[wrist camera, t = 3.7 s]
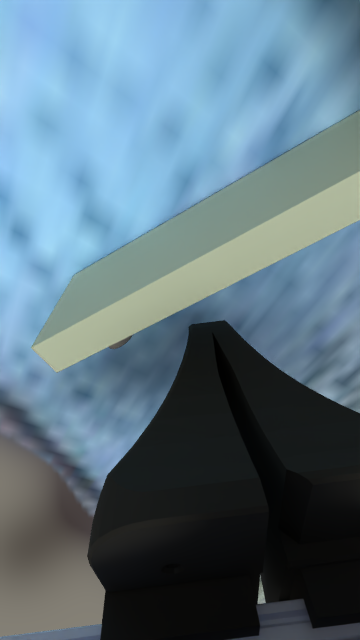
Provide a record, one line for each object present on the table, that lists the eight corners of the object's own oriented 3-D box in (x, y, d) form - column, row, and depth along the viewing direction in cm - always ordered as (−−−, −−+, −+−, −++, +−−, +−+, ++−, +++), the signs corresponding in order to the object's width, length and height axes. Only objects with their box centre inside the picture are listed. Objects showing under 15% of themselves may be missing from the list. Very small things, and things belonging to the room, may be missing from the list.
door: (413, 74, 9) (628, 23, 5) (419, 143, 10) (602, 148, 6) (72, 271, 12) (26, 347, 8) (104, 311, 13) (79, 397, 9)
